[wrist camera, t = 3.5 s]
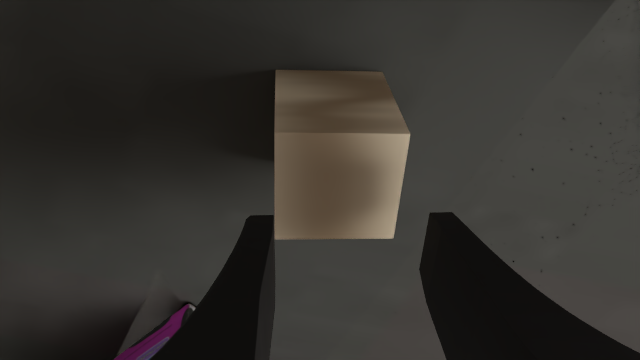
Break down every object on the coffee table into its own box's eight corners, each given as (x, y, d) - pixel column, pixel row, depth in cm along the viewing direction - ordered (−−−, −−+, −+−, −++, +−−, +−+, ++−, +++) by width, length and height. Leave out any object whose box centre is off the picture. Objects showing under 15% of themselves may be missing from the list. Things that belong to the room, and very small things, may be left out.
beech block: (381, 71, 19) (410, 133, 15) (371, 161, 21) (393, 238, 17) (275, 69, 19) (274, 132, 15) (275, 161, 21) (274, 239, 17)
